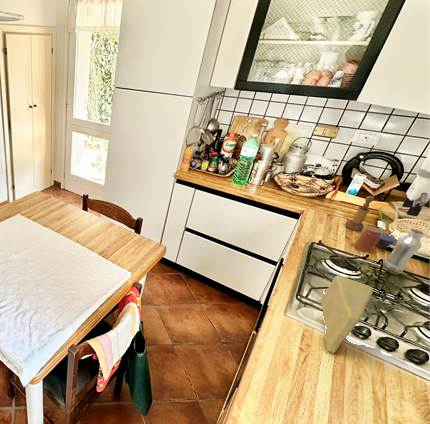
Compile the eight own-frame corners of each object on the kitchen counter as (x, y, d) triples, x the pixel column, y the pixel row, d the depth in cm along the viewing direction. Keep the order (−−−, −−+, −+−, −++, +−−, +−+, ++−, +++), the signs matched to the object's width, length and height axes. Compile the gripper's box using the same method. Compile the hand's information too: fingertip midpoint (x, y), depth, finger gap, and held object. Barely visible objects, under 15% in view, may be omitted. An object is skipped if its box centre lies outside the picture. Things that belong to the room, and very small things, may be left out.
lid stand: (386, 245, 144) (391, 237, 142) (388, 249, 141) (393, 241, 139) (373, 242, 147) (378, 234, 145) (374, 246, 144) (379, 238, 141)
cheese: (351, 363, 90) (378, 328, 83) (310, 343, 96) (332, 309, 88) (352, 319, 105) (375, 286, 97) (317, 304, 110) (336, 272, 103)
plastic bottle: (393, 268, 129) (422, 228, 119) (403, 278, 123) (434, 237, 114) (374, 265, 131) (401, 225, 121) (383, 275, 125) (412, 234, 116)
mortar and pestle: (365, 231, 156) (384, 199, 147) (352, 230, 156) (370, 199, 147) (354, 224, 161) (371, 193, 153) (341, 224, 161) (358, 193, 153)
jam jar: (371, 247, 143) (383, 228, 138) (373, 254, 138) (385, 235, 133) (352, 242, 146) (363, 224, 141) (354, 249, 141) (365, 230, 136)
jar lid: (370, 237, 144) (372, 235, 143) (378, 235, 146) (380, 232, 146) (388, 245, 139) (390, 242, 138) (396, 242, 141) (398, 239, 140)
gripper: (413, 167, 134) (393, 202, 142) (423, 178, 121) (400, 216, 129) (438, 170, 130) (416, 206, 138) (451, 182, 117) (426, 221, 125)
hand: (409, 211), depth 133 cm, fingers open, 9 cm apart
